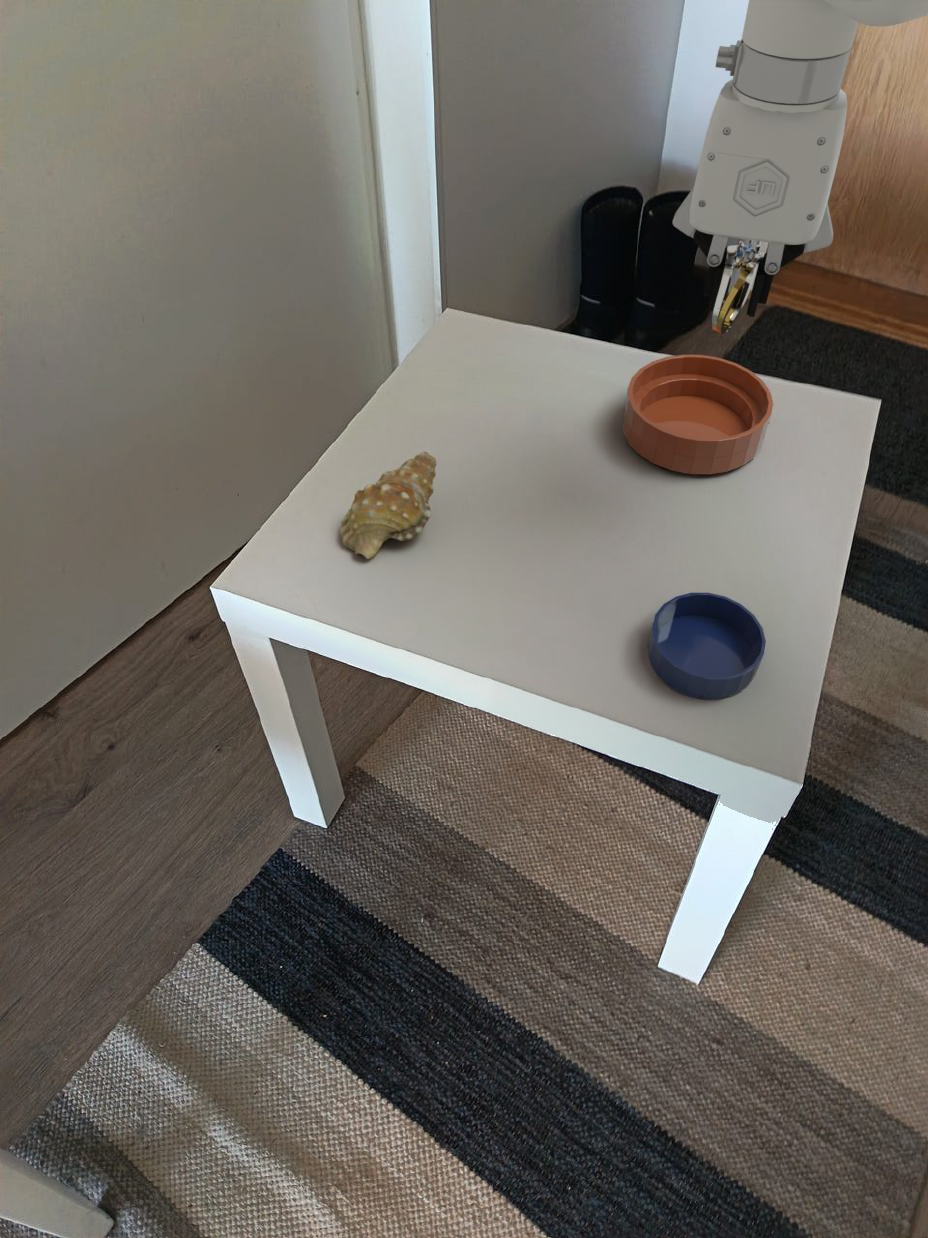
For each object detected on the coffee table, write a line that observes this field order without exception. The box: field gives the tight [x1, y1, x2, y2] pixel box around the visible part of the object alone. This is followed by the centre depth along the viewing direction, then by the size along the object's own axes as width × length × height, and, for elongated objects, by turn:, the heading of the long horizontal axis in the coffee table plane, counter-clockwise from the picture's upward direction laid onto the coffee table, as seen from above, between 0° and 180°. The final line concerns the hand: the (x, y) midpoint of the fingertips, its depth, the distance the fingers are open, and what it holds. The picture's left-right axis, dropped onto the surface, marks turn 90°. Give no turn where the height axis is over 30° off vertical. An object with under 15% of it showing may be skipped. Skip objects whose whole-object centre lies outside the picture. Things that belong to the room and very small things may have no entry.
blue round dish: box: [647, 592, 767, 701], centre depth 74 cm, size 9×9×3 cm
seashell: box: [339, 451, 437, 560], centre depth 85 cm, size 9×8×10 cm
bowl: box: [622, 354, 774, 475], centre depth 93 cm, size 15×15×5 cm
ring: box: [711, 240, 765, 335], centre depth 75 cm, size 7×3×8 cm, turn 144°
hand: (733, 304), depth 76 cm, fingers closed on ring, 2 cm apart
